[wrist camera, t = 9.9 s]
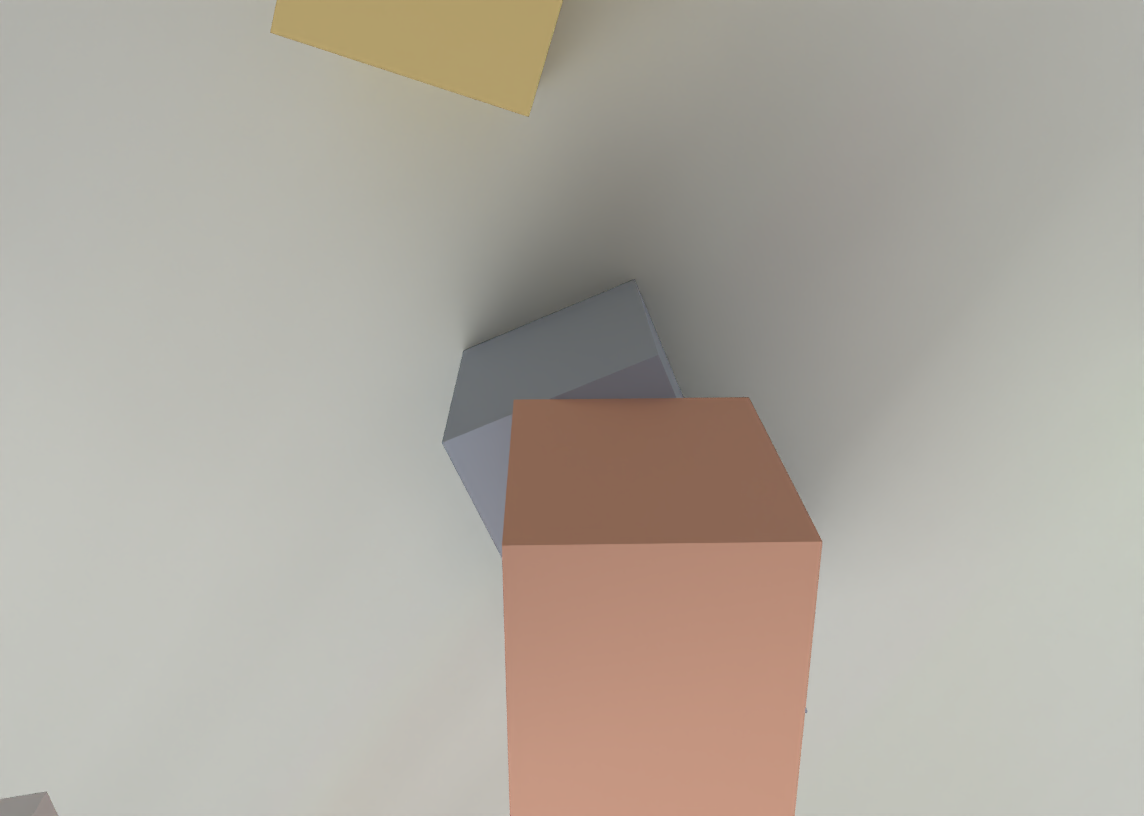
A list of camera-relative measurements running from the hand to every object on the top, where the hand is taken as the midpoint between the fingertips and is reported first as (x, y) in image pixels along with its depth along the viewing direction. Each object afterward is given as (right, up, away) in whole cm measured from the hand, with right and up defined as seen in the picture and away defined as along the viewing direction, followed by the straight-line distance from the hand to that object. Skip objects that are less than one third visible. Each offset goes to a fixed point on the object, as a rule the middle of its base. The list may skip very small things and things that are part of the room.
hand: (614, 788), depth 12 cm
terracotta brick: (+1, +1, +7) cm, 7 cm away
